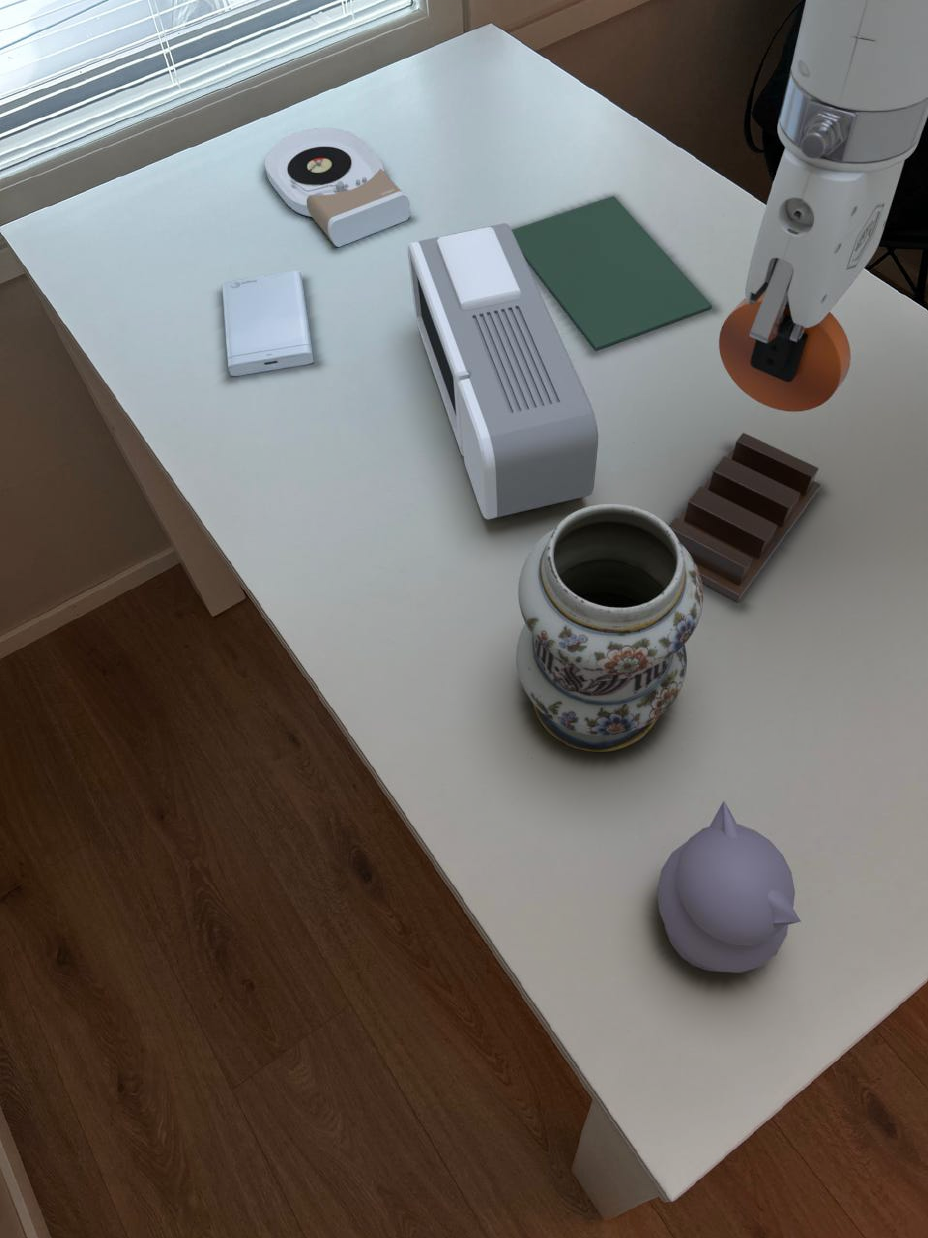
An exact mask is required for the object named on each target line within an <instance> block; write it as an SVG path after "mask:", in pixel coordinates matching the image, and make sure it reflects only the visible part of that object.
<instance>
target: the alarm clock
mask: <svg viewBox="0 0 928 1238" xmlns="http://www.w3.org/2000/svg"><path fill="white" fill-rule="evenodd" d="M512 230H513V229H512V228H511V226H510V224H508V223H507V222H506V223H505V222H504V223H499V224H495V225H490V226H484V227H480V228H476V229H470V230H465V231H461V232H460V231H459V232H456V233H452V234H450V233H449V234H446V235H442V236H436V237H433V238H427V239H422V240H417V241H412V242H409V243H408V244H407V260H408V268H409V276H410V286H411V293H412V302H413V309H414V314H415V319H416V323H417V328H418V331H419V334H420V337H421V340H422V342H423V346H424V349H425V351H426V355H427V358H428V360H429V363H430V367H431V369H432V372H433V375H434V378H435V381H436V384H437V387H438V390H439V393H440V396H441V398H442V401H443V404H444V408H445V411H446V413H447V415H448V416H447V417H448V419H449V422H450V425H451V428H452V431H453V434H454V436H455V439H456V443H457V446H458V449H459V451H460V455H461V456H463V464H464V466H465V469H466V472H467V475H468V477H469V480H470V485H471V487H472V489H473V493H474V495H475V499H476V501H477V504H478V507H479V510H480V512H481V515H482V517H483V518H484V519H486V520H491V519H495V518H496V519H497V518H500V517H503V516H505V517H506V516H509V515H513V514H518V513H522V512H526V511H529V510H534V509H539V508H543V507H547V506H551V505H555V504H559V503H564V502H569V501H572V500H577V499H581V498H585V497H588V496H591V495H592V493H593V491H594V489H595V480H596V471H597V470H596V469H597V461H598V460H597V459H598V449H599V431H598V424H597V420H596V415H595V411H594V408H593V406H592V403H591V401H590V399H589V397H588V395H587V393H586V391H585V389H584V386H583V384H582V382H581V379H580V376H579V375H578V373H577V370H576V369H575V366H574V365H573V361H572V360H571V357H570V354H569V352H568V350H567V349H566V346H565V344H564V342H563V340H562V337H561V335H560V333H559V331H558V329H557V326H556V324H555V322H554V320H553V318H552V316H551V313H550V311H549V309H548V307H547V305H546V302H545V300H544V298H543V296H542V293H541V291H540V289H539V287H538V285H537V282H536V280H535V278H534V276H533V274H532V272H531V271H532V270H531V269H530V267H529V264H528V262H527V260H526V259H525V258H524V256H523V254H522V252H521V249H520V247H519V245H518V243H517V241H516V238H515V236H514V234H513V232H512Z"/></svg>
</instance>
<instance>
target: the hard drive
mask: <svg viewBox="0 0 928 1238" xmlns="http://www.w3.org/2000/svg"><path fill="white" fill-rule="evenodd" d="M221 289H222V302H223V303H222V304H223V315H224V316H223V318H224V330H225V342H226V343H225V346H226V355H227V356H226V357H227V368H228V370H229V373H230V375H231V377H239V376H246V375H253V374H258V373H263V372H269V371H275V370H281V369H288V368H295V367H300V366H306V365H310V364H312V363H314V354H313V347H312V346H313V345H312V340H311V332H310V326H309V319H308V310H307V305H306V304H307V303H306V297H305V290H304V283H303V277H302V273H301V271H300V270H290V271H289V270H288V271H283V272H277V273H271V274H265V275H264V274H263V275H259V276H254V277H253V276H252V277H247V278H242V279H236V280H229V281H225V282H223V283H222V284H221Z"/></svg>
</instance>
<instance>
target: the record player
mask: <svg viewBox="0 0 928 1238" xmlns="http://www.w3.org/2000/svg"><path fill="white" fill-rule="evenodd" d="M264 168H265V172H266V175H267V179H268V181H269V183H270V185H271V186H272V187H273V189H275V191H276V192H277V193H278V195H279V197H281V199H282V200H283V201H284V202H285V203H286V205H288V207H289V208H290V209H291V210H293V211H294V212H296V213H297V214H300V215H303V216H306V217H311V218H312V219H313V220H314V221H315V222H316V223H317V225H318V226H319V227H320V229H321V230H322V231H323V232H324V233H325V235H326V236H327V237H328V238H329V240H330V241H331V242H332V243H333V245H334V246H335V247H336V248H337V247H338V248H340V247H344V246H347V245H349V244H351V243H353V242H356V241H358V240H361V239H363V238H366V237H368V236H371V235H373V234H376V233H378V232H381V231H383V230H386V229H388V228H391V227H393V226H396V225H399V224H401V223H403V222H406V221H407V220H408V219H409V217H410V213H411V205H410V200H409V198H408V196H407V195H406V194H405V193H404V192H403V191H402V189H400V188H399V186H398V185H397V184H396V183H395V182H394V181H393V180H392V179H391V178H390V176H388V174H386V172H385V171H384V166H383V163H382V161H381V160H380V159H379V158H378V157H377V156H376V154H375V153H374V151H372V150H371V148H370V147H369V146H368V145H367V144H366V143H365V142H364V141H363V140H362V139H361V138H360V137H358V136H357V135H356V134H354V133H352V132H350V131H347V130H344V129H341V128H334V127H316V128H315V127H314V128H309V129H308V128H307V129H303V130H301V131H300V130H299V131H297V132H294V133H291V134H289V135H287V136H285V137H284V138H282V139H280V140H278V141H277V142H275V144H274V145H273V146H271V148H270V149H269V150H268V152H267V153H266V156H265V159H264Z"/></svg>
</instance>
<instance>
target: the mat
mask: <svg viewBox="0 0 928 1238" xmlns="http://www.w3.org/2000/svg"><path fill="white" fill-rule="evenodd" d="M511 230H512V232H513V234H514V236H515V238H516V241H517V243H518V245H519V247H520V249H521V252H522V254H523V256H524V258H525V260H526V263H527V264H528V265H529V266H530V267H531V269H532V270H533V271H534V273H535V274H536V275H537V277H539V279H540V280H541V282H542V283H543V284H544V285H545V287H546V288H547V290H548V291H549V292H550V294H551V295H552V296H553V297H554V298H555V300H556V301H557V302H558V304H560V306H561V307H562V309H563V310H564V311H565V313H566V314H567V315H568V317H569V318H570V320H572V322H573V323H574V324H575V326H576V327H577V329H578V330H579V331H580V332H581V333H582V335H583V336H584V338H585V339H586V340H587V341H588V343H589V344H590V345H591V347H592V348H593V350H595V351H600V350H601V349H605V348H607V347H610V346H613V345H616V344H618V343H622V342H623V341H626V340H630V339H632V338H634V337H637V336H640V335H643V334H646V333H648V332H651V331H655V330H658V329H659V328H663V327H665V326H668V325H670V324H673V323H675V322H679V321H681V320H684V319H687V318H690V317H692V316H695V315H698V314H701V313H704V312H706V311H709V310H712V309H713V304H712V303H710V301H709V299H707V298H706V297H705V296H704V294H703V293H702V292H701V291H700V290H699V289H698V288H697V287H696V285H695V284H694V283H693V282H692V281H691V280H690V279H689V278H688V277H687V275H686V274H685V273H683V271H682V269H680V268H679V267H678V265H676V263H675V262H674V261H673V260H672V259H671V258H670V256H668V254H667V253H666V252H665V251H664V249H662V248H661V247H660V246H659V244H658V243H657V242H656V241H655V240H654V239H653V238H652V237H651V235H650V234H648V232H647V231H646V230H645V229H644V228H643V226H641V224H640V223H639V222H638V221H637V220H636V219H635V218H634V217H633V216H632V214H630V212H629V210H627V209H626V208H625V207H624V205H622V203H621V202H620V201H619V200H618V198H617V197H616V196H614V195H612V196H608V197H606V198H602V199H600V200H598V201H594V202H591V203H588V204H585V205H582V206H579V207H577V208H573V209H570V210H567V211H564V212H561V213H558V214H554V215H553V216H549V217H546V218H544V219H540V220H538V221H534V222H531V223H528V224H525V225H522V226H519V227H517V228H513V229H511Z"/></svg>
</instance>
